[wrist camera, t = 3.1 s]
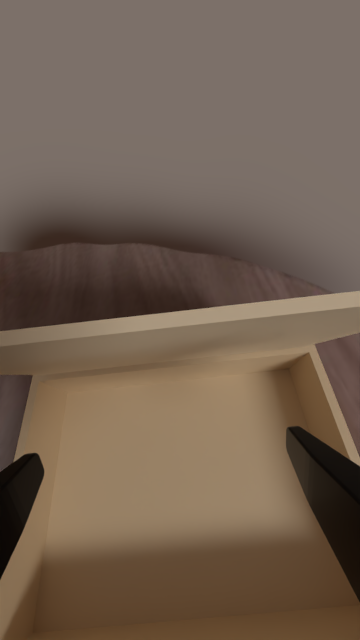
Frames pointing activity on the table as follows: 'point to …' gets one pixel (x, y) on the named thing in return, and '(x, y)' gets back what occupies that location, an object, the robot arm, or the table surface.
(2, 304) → the table surface
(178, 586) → the carton
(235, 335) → the carton flap
